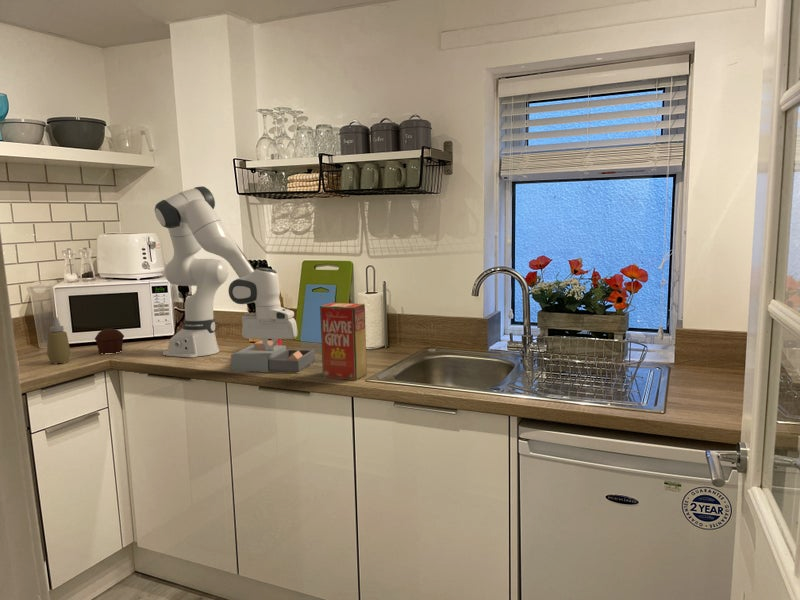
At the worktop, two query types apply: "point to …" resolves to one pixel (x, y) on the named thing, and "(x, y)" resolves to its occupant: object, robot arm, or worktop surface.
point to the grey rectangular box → (254, 359)
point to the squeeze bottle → (58, 344)
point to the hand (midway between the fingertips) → (270, 350)
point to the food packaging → (343, 341)
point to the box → (291, 361)
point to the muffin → (109, 341)
